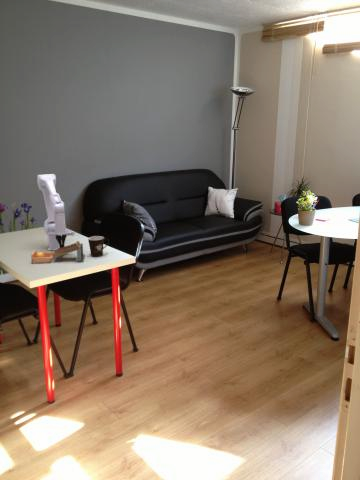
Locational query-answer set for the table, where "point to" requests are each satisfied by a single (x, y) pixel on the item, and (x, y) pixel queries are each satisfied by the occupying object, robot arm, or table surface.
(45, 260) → the tray
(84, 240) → the table surface
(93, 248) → the coffee mug
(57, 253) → the tipping chute
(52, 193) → the robot arm
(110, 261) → the table surface
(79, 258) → the pivot stand
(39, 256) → the ball
